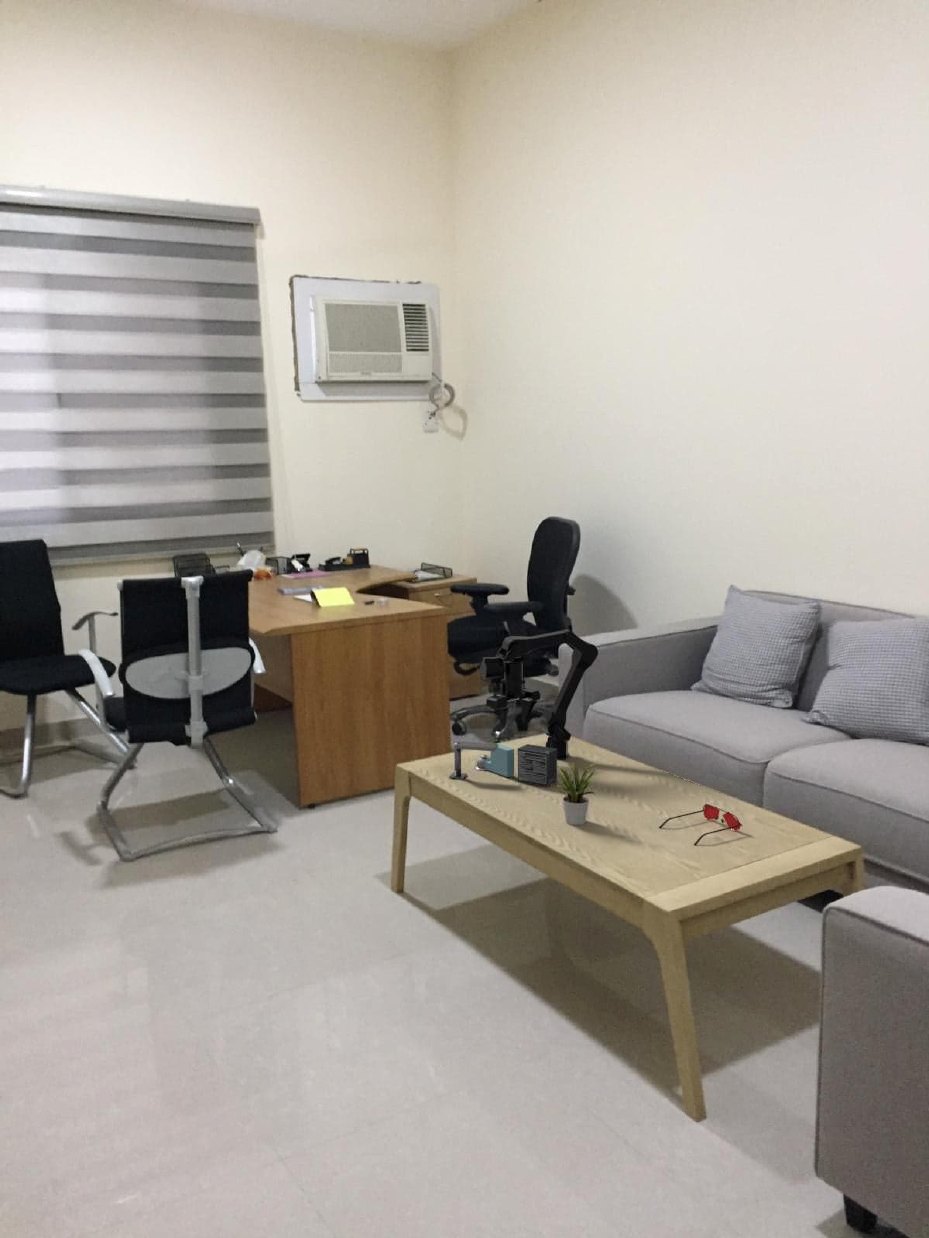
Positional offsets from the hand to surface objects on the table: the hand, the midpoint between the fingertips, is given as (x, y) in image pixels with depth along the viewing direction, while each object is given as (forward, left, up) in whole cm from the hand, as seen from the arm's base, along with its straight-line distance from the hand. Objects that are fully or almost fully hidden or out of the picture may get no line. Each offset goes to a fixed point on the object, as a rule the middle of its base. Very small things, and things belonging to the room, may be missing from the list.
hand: (513, 724), depth 321 cm
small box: (-12, +18, -12) cm, 25 cm away
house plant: (-30, +48, -12) cm, 58 cm away
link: (+3, +12, -12) cm, 17 cm away
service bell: (+8, +9, -12) cm, 17 cm away
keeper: (+8, +20, -12) cm, 25 cm away
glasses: (-61, +47, -13) cm, 78 cm away
